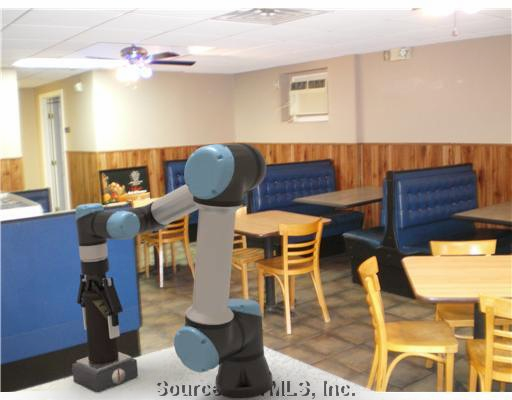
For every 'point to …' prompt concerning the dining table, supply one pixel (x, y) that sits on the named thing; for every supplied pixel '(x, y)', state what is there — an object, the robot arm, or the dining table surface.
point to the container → (98, 329)
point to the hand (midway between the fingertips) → (101, 332)
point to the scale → (104, 372)
